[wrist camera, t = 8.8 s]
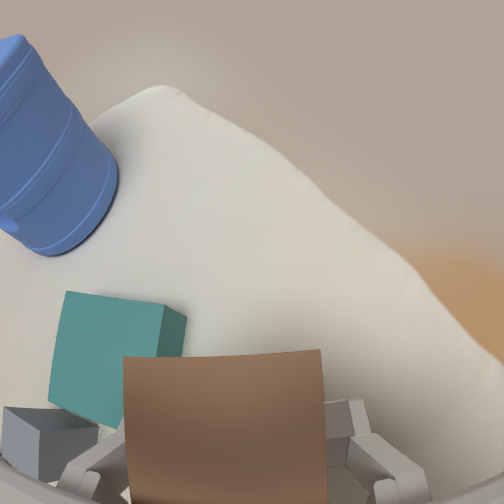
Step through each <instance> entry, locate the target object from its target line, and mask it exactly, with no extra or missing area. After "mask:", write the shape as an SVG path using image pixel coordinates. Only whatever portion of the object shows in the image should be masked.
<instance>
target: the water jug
mask: <svg viewBox="0 0 504 504" xmlns="http://www.w3.org/2000/svg"><path fill="white" fill-rule="evenodd" d="M116 183H117V166H116V163H115V160H114V158H113V156H112V155H111V153H110V152H109V151H108V149H107V148H106V147H105V146H104V145H103V144H102V143H101V142H100V141H99V140H98V138H97V137H96V136H95V134H94V133H93V132H92V130H91V129H90V128H89V126H88V125H87V124H86V122H85V121H84V120H83V118H82V116H81V114H80V112H79V111H78V109H77V108H76V107H75V105H74V104H73V103H72V102H71V100H70V99H69V98H67V97H66V96H65V94H64V93H63V91H62V90H61V88H60V87H59V86H58V84H57V83H56V81H55V80H54V79H53V77H52V76H51V74H50V73H49V72H48V70H47V69H46V67H45V66H44V65H43V61H42V59H41V57H40V56H39V54H38V53H37V51H36V50H35V49H34V47H33V46H32V45H31V44H29V43H28V41H27V40H26V38H25V37H24V36H23V35H21V34H16V35H13V36H10V37H7V38H4V39H2V40H0V228H1V229H2V230H3V231H5V232H6V233H8V234H9V235H11V236H12V237H14V238H16V239H17V240H19V241H20V242H22V243H23V244H24V245H25V246H26V247H27V248H29V249H30V250H32V251H33V252H35V253H37V254H40V255H44V256H53V255H58V254H61V253H64V252H66V251H68V250H70V249H72V248H73V247H75V246H76V245H78V244H79V243H80V242H81V241H83V240H84V239H85V238H86V237H87V236H88V235H89V234H90V233H91V232H92V231H93V230H94V228H95V227H96V226H97V225H98V223H99V222H100V221H101V219H102V218H103V216H104V214H105V213H106V211H107V209H108V207H109V205H110V203H111V201H112V198H113V195H114V192H115V188H116Z"/></svg>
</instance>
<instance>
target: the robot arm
mask: <svg viewBox="0 0 504 504" xmlns="http://www.w3.org/2000/svg"><path fill="white" fill-rule="evenodd" d="M324 408H325V426H326V448H327V467H332V466H341V465H345V466H346V467H347V468H348V469H349V471H350V472H351V473H352V474H353V475H354V476H355V477H356V478H357V479H358V480H359V481H360V482H361V483H362V485H363V486H364V487H365V488H366V489H367V490H368V491H369V492H370V495H369V497H368V500H367V502H366V504H504V472H502V473H500V474H498V475H496V476H494V477H492V478H490V479H487V480H485V481H483V482H481V483H478V484H476V485H474V486H471V487H469V488H466V489H464V490H461V491H459V492H456V493H453V494H451V495H448V496H445V497H442V498H439V499H436V500H433V501H432V498H431V494H430V491H429V487H428V484H427V480H426V477H425V473H424V470H423V469H422V468H421V467H420V466H418V465H417V464H416V463H414V462H413V461H412V460H411V459H409V458H408V457H407V456H405V455H404V454H403V453H401V452H400V451H399V450H397V449H396V448H395V447H394V446H392V445H391V444H390V443H388V442H387V441H386V440H385V439H383V438H382V437H381V436H380V435H378V434H377V433H372V432H371V428H370V424H369V420H368V416H367V412H366V408H365V404H364V400H363V398H362V397H355V398H348V399H340V400H332V401H325V402H324ZM128 486H129V480H128V470H127V459H126V447H125V431H124V415H123V418H122V420H121V422H120V424H119V426H118V428H117V430H116V433H115V435H114V434H111V435H109V436H108V437H106V438H105V439H103V440H102V441H101V442H99V443H98V444H96V445H95V446H93V447H92V448H90V449H89V450H87V451H86V452H84V453H83V454H81V455H79V456H78V457H76V458H75V459H73V460H72V461H70V462H69V463H68V464H67V466H66V468H65V470H64V472H63V474H62V476H61V478H60V480H59V482H58V484H57V486H56V487H53V486H51V485H49V484H46V483H44V482H42V481H39V480H37V479H35V478H33V477H30V476H28V475H26V474H24V473H22V472H20V471H18V470H16V469H14V468H12V467H10V466H8V465H6V464H4V463H3V462H1V461H0V504H129V503H128V502H127V501H126V500H125V499H124V498H123V497H122V496H121V495H120V494H121V493H122V492H123V491H124V490H125V489H126V488H127V487H128Z"/></svg>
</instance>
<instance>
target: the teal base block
mask: <svg viewBox="0 0 504 504" xmlns="http://www.w3.org/2000/svg"><path fill="white" fill-rule="evenodd" d="M186 321H187V318H186V317H185V316H183V315H181V314H179V313H178V312H176V311H174V310H173V309H171V308H169V307H167V306H166V305H163V304H155V303H147V302H139V301H132V300H125V299H118V298H111V297H104V296H97V295H91V294H85V293H79V292H72V291H67V290H66V294H65V299H64V303H63V307H62V312H61V317H60V322H59V327H58V332H57V337H56V343H55V349H54V355H53V362H52V369H51V377H50V385H49V394H48V401H49V402H51V403H53V404H56V405H58V406H60V407H62V408H64V409H67V410H69V411H71V412H73V413H76V414H78V415H81V416H83V417H85V418H88V419H90V420H93V421H95V422H98V423H101V424H103V425H106V426H109V427H112V428H114V429H117V428H118V426H119V424H120V422H121V420H122V418H123V415H124V406H123V356H129V357H181V354H182V347H183V341H184V334H185V328H186Z"/></svg>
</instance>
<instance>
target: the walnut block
mask: <svg viewBox="0 0 504 504" xmlns="http://www.w3.org/2000/svg"><path fill="white" fill-rule="evenodd" d="M123 406H124V431H125V447H126V459H127V470H128V480H129V489H130V497H131V504H328V481H327V448H326V426H325V408H324V392H323V378H322V365H321V353H320V349H317V350H307V351H297V352H285V353H273V354H258V355H241V356H218V357H129V356H123Z"/></svg>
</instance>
